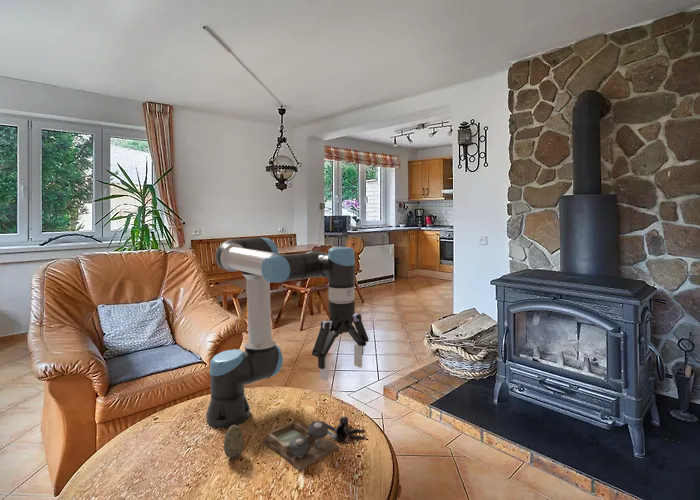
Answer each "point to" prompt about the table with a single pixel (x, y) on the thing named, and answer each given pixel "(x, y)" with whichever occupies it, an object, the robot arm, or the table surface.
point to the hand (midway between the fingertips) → (341, 372)
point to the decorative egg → (233, 442)
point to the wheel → (318, 429)
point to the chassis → (299, 445)
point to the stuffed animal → (344, 431)
